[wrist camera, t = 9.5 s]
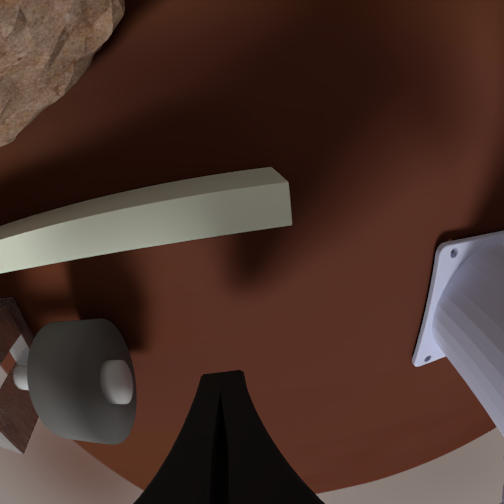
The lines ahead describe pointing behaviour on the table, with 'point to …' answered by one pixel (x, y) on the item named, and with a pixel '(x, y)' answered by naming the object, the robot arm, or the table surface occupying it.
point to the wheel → (81, 380)
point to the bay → (149, 218)
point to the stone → (47, 53)
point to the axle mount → (9, 395)
